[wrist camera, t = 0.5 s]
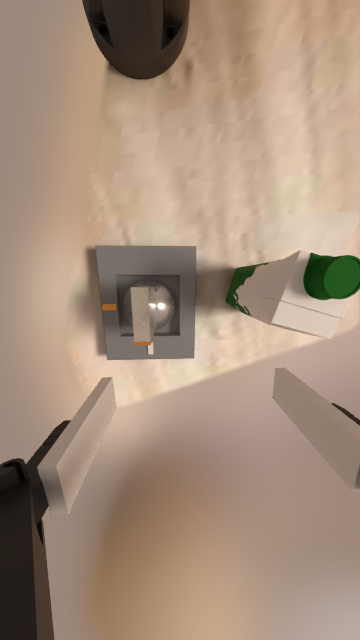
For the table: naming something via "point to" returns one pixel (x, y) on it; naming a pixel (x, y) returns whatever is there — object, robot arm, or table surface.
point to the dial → (148, 309)
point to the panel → (139, 265)
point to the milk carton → (297, 291)
